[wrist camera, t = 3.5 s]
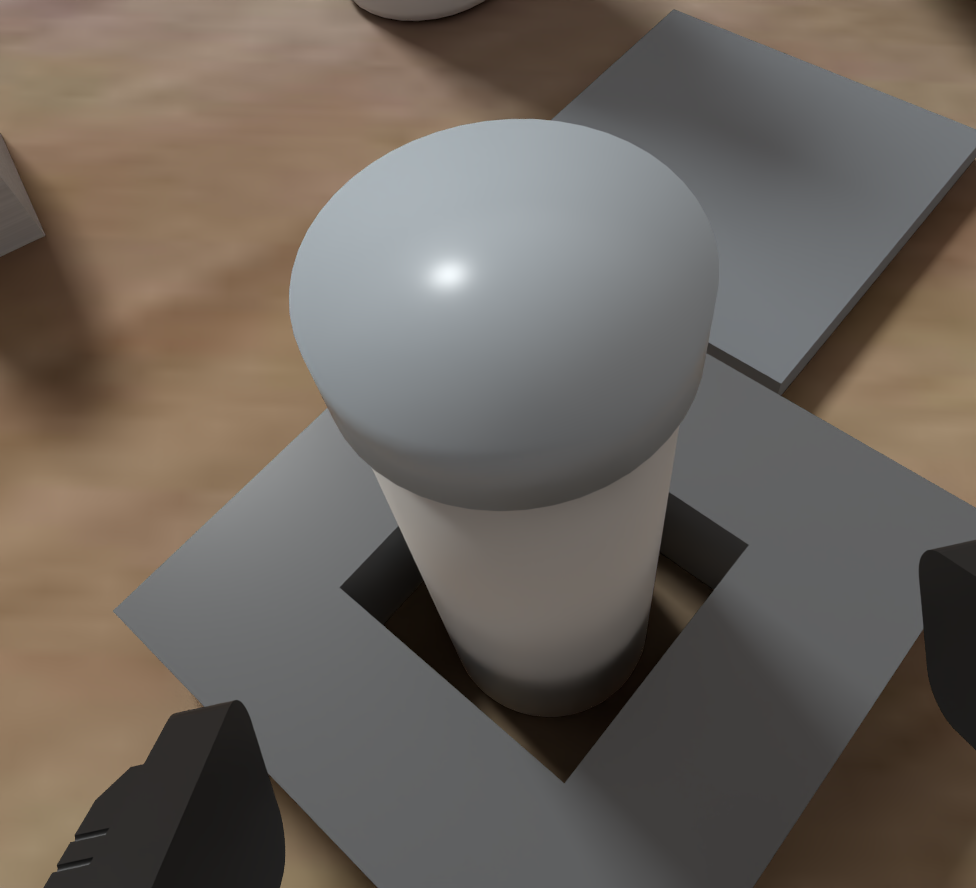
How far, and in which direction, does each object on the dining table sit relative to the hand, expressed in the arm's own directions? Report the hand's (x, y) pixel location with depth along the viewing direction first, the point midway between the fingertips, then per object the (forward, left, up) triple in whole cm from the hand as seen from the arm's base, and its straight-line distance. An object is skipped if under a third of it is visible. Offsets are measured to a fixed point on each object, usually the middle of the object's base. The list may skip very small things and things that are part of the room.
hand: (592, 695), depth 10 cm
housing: (-4, +3, -11) cm, 12 cm away
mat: (-9, +18, -11) cm, 23 cm away
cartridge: (-4, +3, -11) cm, 12 cm away
